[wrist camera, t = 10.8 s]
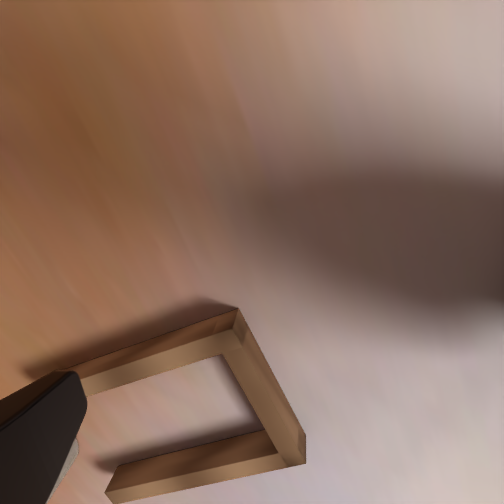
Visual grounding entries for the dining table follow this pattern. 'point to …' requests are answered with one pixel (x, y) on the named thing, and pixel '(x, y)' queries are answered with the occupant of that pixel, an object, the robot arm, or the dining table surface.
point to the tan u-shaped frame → (213, 454)
